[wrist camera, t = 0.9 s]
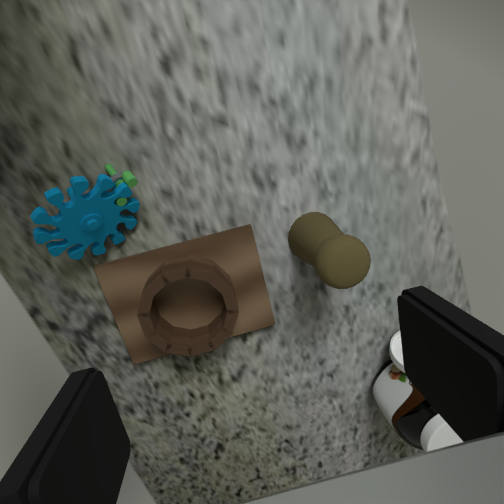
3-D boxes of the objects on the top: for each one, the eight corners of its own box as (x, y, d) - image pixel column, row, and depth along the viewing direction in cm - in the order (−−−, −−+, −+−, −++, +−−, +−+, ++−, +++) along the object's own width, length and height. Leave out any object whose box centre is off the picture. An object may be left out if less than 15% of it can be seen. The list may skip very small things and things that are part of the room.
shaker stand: (96, 264, 39) (81, 281, 34) (250, 224, 40) (256, 235, 35) (135, 358, 43) (127, 385, 38) (273, 319, 44) (281, 341, 39)
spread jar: (384, 411, 51) (433, 484, 40) (344, 364, 47) (387, 430, 36) (450, 363, 50) (520, 425, 39) (415, 312, 46) (481, 364, 35)
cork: (290, 264, 42) (319, 303, 31) (285, 216, 40) (314, 241, 30) (338, 256, 42) (381, 292, 32) (335, 208, 40) (380, 230, 30)
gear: (88, 275, 37) (6, 238, 28) (69, 240, 40) (-12, 196, 31) (166, 210, 38) (110, 154, 29) (142, 179, 40) (83, 119, 32)
